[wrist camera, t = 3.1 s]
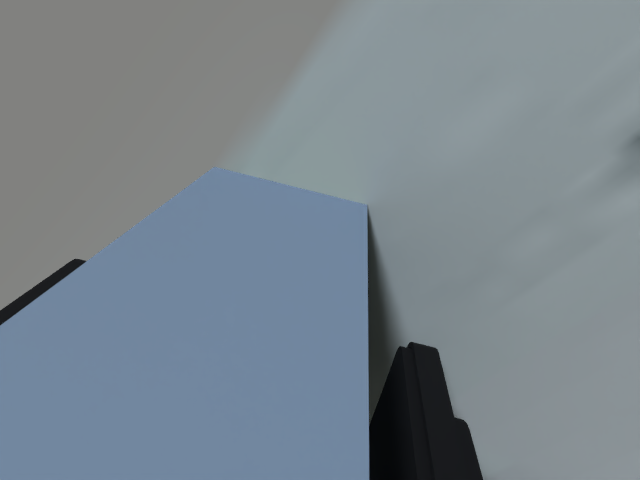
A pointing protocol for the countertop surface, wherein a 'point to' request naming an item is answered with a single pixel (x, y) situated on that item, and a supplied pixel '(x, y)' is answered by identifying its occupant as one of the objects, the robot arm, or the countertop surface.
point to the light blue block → (200, 346)
